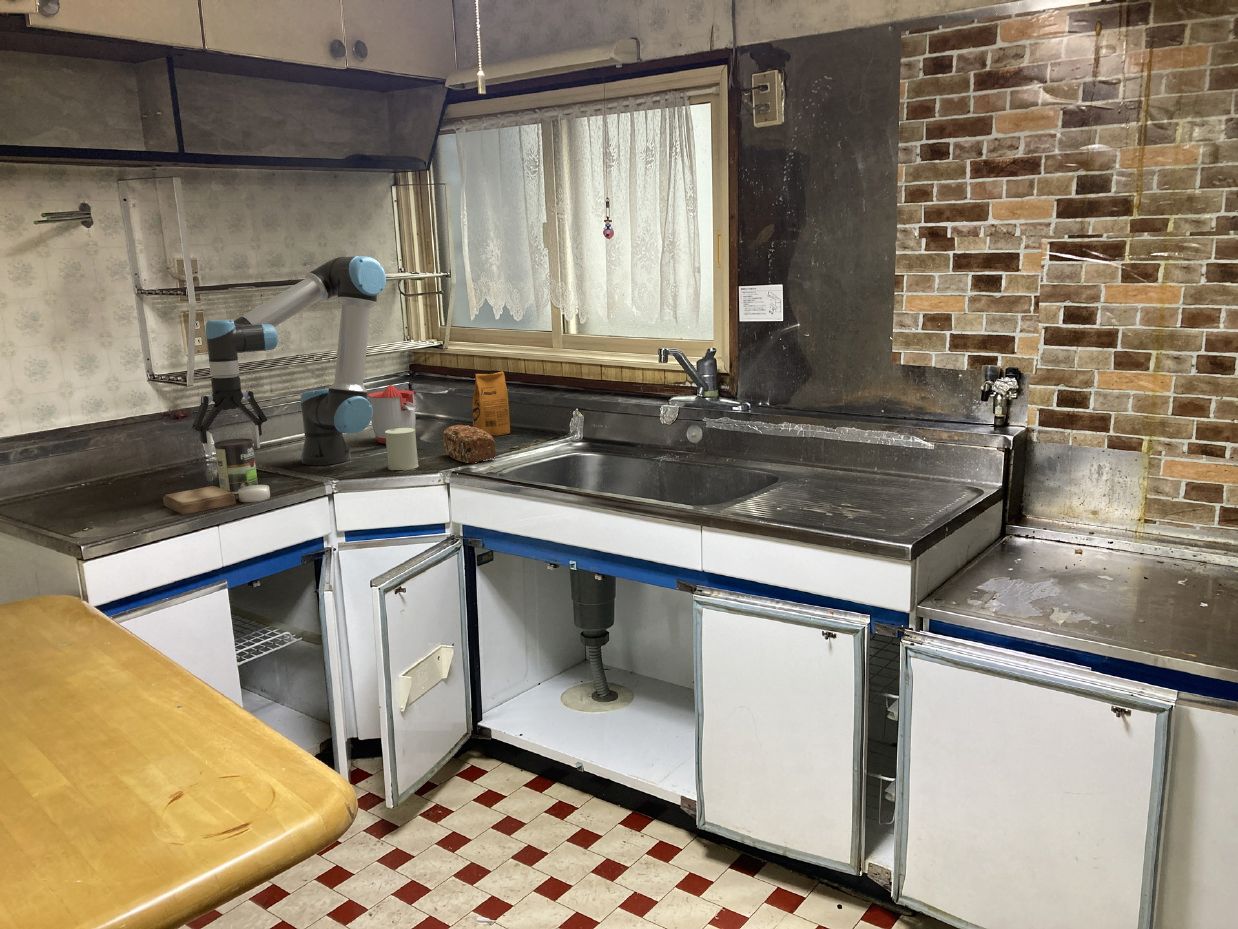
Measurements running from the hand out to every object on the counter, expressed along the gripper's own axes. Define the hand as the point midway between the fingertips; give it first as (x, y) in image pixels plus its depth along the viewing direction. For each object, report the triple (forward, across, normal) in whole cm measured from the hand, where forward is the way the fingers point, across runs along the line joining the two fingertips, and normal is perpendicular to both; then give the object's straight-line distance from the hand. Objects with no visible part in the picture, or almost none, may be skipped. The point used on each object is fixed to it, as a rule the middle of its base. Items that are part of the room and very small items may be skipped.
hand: (233, 451), depth 273 cm
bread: (+11, -68, +17) cm, 71 cm away
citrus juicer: (+10, -67, -26) cm, 72 cm away
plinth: (+12, +13, +8) cm, 19 cm away
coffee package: (+10, -96, -10) cm, 97 cm away
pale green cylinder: (+11, -47, +12) cm, 49 cm away
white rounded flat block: (+12, 0, +13) cm, 17 cm away
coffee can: (+12, -1, 0) cm, 12 cm away
